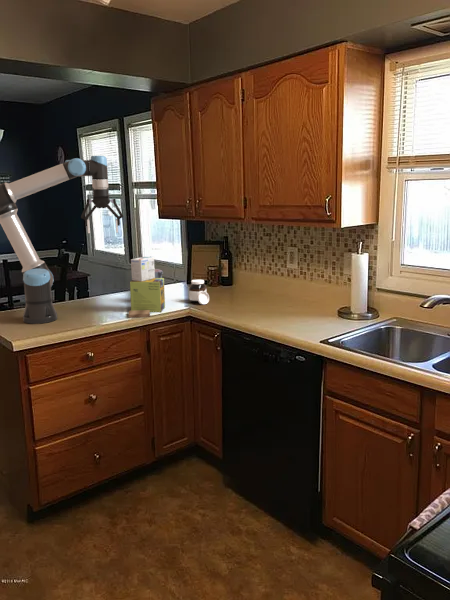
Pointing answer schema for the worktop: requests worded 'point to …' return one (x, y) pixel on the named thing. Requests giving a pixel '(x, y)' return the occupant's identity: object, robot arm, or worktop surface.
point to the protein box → (147, 295)
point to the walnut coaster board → (139, 313)
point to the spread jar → (198, 292)
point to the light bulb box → (142, 268)
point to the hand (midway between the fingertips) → (103, 232)
